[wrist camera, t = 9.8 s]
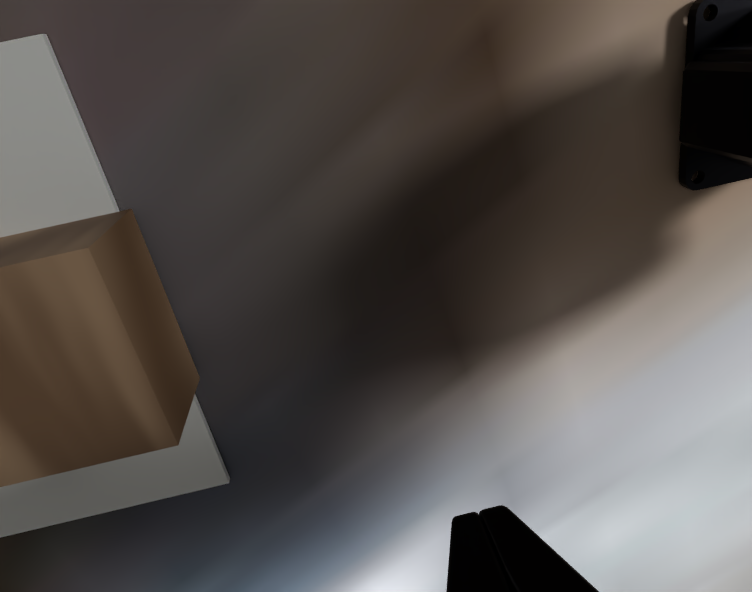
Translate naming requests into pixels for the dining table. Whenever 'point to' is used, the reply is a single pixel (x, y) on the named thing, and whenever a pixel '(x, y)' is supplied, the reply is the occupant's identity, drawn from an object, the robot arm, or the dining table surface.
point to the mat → (59, 206)
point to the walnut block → (86, 350)
